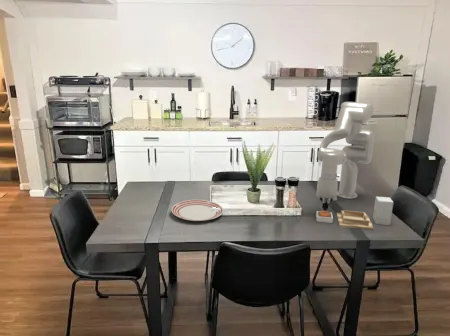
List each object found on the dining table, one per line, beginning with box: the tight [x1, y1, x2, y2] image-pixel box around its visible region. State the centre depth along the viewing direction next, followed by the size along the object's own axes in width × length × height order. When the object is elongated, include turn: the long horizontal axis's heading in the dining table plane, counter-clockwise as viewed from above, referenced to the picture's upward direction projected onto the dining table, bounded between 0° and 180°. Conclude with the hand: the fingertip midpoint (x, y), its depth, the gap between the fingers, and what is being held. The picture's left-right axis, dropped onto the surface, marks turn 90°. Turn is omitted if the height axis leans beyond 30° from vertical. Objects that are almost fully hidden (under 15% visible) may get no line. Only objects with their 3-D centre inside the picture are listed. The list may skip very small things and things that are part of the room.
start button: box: [319, 209, 331, 217], centre depth 189 cm, size 5×5×2 cm
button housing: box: [315, 210, 334, 224], centre depth 190 cm, size 8×8×3 cm
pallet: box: [336, 209, 374, 231], centre depth 187 cm, size 16×16×4 cm
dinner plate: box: [171, 199, 224, 222], centre depth 193 cm, size 27×27×3 cm
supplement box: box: [372, 196, 394, 226], centre depth 187 cm, size 7×7×13 cm
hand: (324, 209), depth 188 cm, fingers closed
